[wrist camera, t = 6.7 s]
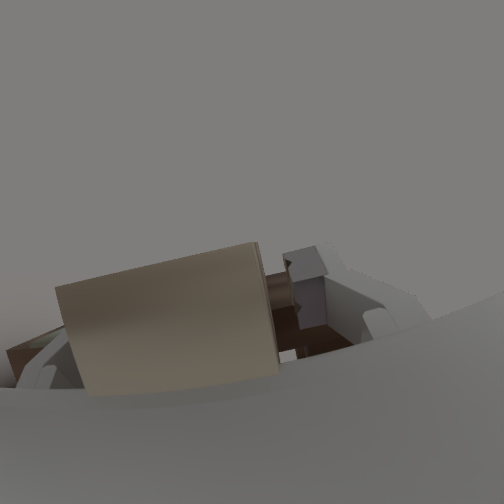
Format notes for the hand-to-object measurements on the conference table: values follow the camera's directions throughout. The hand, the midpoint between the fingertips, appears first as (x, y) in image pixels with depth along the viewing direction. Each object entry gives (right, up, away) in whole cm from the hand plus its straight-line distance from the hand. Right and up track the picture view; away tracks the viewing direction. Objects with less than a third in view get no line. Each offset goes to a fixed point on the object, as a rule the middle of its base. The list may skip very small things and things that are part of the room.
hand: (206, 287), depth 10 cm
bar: (+1, -2, +6) cm, 6 cm away
